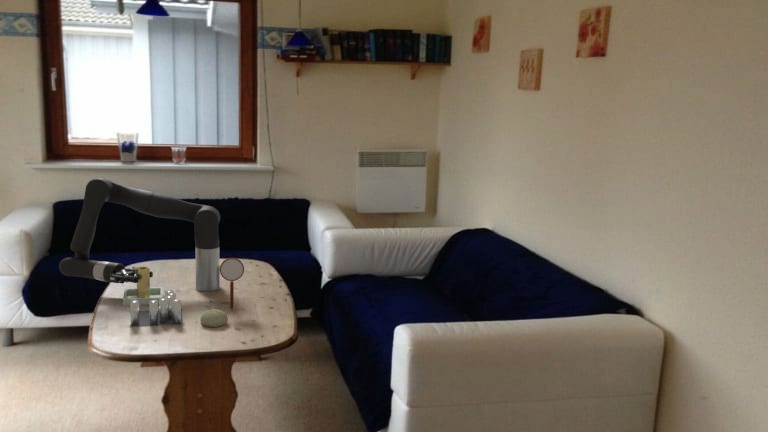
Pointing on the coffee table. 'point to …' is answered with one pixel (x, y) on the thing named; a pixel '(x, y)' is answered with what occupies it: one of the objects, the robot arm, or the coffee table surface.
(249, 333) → the coffee table surface
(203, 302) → the coffee table surface
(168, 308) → the spacer posts
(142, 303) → the parts tray
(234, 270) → the magnifying glass
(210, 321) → the sea urchin shell
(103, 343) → the coffee table surface
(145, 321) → the mat
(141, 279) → the gold hexagonal pillar
